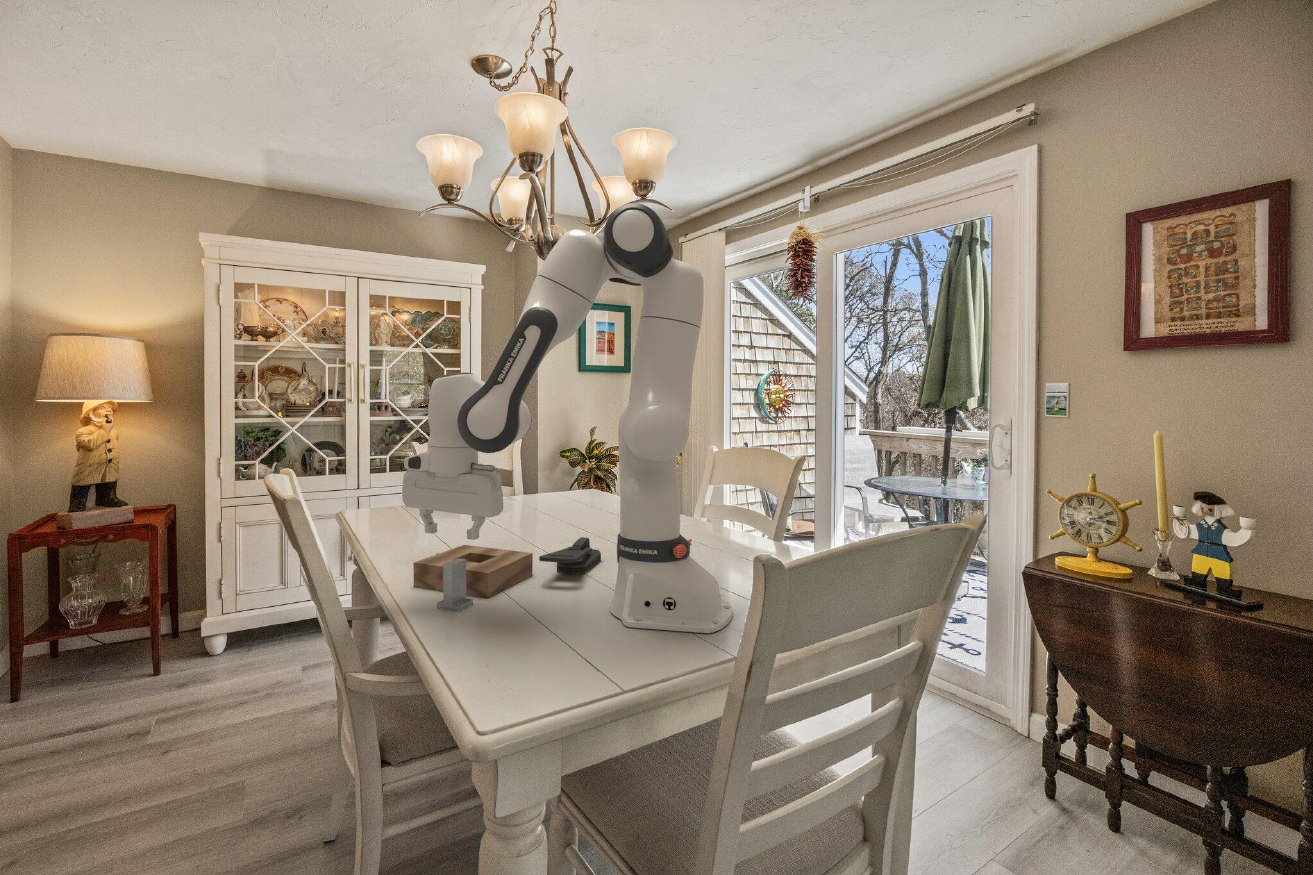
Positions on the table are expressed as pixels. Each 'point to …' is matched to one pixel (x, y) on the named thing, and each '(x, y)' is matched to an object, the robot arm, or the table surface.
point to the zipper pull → (574, 558)
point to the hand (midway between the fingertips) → (451, 535)
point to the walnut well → (477, 569)
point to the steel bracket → (454, 586)
